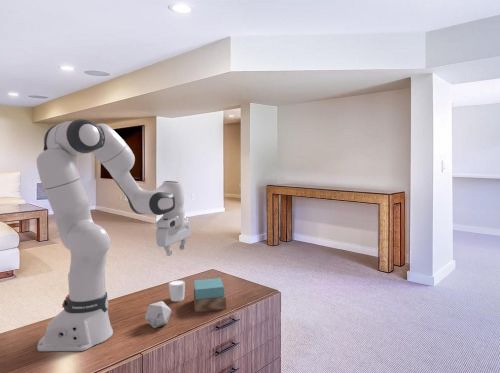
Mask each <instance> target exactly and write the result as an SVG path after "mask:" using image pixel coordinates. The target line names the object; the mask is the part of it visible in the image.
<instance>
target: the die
mask: <svg viewBox="0 0 500 373" xmlns="http://www.w3.org/2000/svg"><path fill="white" fill-rule="evenodd" d="M171 313H172V309H171V308H170V307H169V306H168V305H167V304H166V303H165V302H164V301H163V300H161V301H157V302H154V303H151V304H149V305H148V306H147V310H146V313H145V316H144V320H146V321H147V323H148V324H149V325H150V326H151V327H152V328H153V329H156V328H159V327H161V326H165V325H167V324H168V323H169V320H170V316H171Z"/></svg>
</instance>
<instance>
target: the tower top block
mask: <svg viewBox="0 0 500 373" xmlns="http://www.w3.org/2000/svg"><path fill="white" fill-rule="evenodd" d="M193 281H194V282H193V283H194V284H193V286H194V288H193V291H194V290H195V297H196V300H198V299H208V298H218V297H224V294H225V286H224V284H223V281H222V278H221V277H218V278H216V277H215V278H208V279H207V278H206V279H195V280H193Z"/></svg>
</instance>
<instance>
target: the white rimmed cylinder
mask: <svg viewBox="0 0 500 373" xmlns="http://www.w3.org/2000/svg"><path fill="white" fill-rule="evenodd" d="M185 287H186V282H185V280H182V279H181V280H180V279H178V280H177V279H176V280H172V281H169V282H168V290H169V297H170V301H172V302H181V301H183V300H184V299H185V290H186V288H185Z"/></svg>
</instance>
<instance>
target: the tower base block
mask: <svg viewBox="0 0 500 373" xmlns="http://www.w3.org/2000/svg"><path fill="white" fill-rule="evenodd" d="M226 301H227V299H226V294H225V293H224V297H218V298H208V299H198V300H196V297H195V290H194V289H193V305H194V313H198V312H200V313H201V312H208V311H218V310H219V311H220V310H226V309H227V302H226Z"/></svg>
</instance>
